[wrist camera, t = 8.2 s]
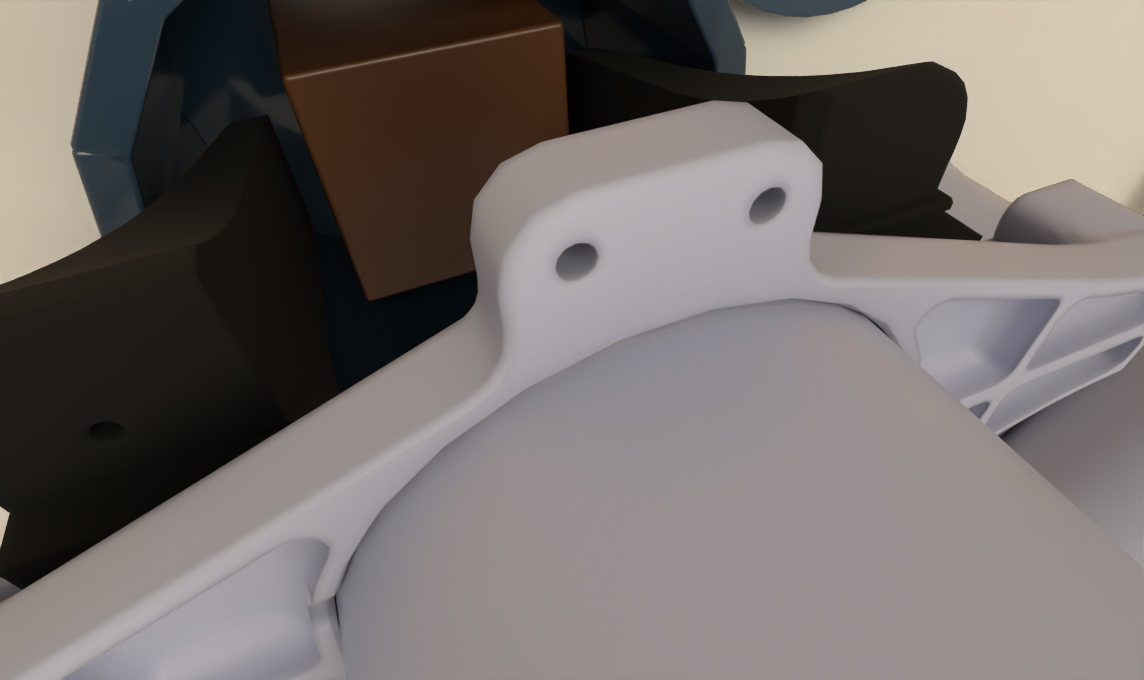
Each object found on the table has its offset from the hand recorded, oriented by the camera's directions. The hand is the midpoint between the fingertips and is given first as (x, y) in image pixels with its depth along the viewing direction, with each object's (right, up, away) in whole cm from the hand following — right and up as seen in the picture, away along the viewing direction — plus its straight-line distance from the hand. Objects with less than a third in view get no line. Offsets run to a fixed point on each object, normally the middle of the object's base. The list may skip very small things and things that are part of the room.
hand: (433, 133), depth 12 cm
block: (-1, +2, +2) cm, 3 cm away
